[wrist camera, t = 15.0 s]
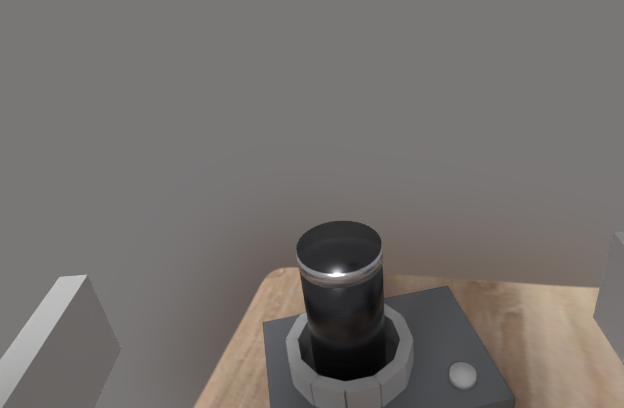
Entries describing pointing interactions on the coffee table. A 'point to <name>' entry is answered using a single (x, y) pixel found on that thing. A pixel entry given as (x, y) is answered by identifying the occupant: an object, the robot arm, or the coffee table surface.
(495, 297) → the coffee table surface
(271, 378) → the camera body
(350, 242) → the lens
